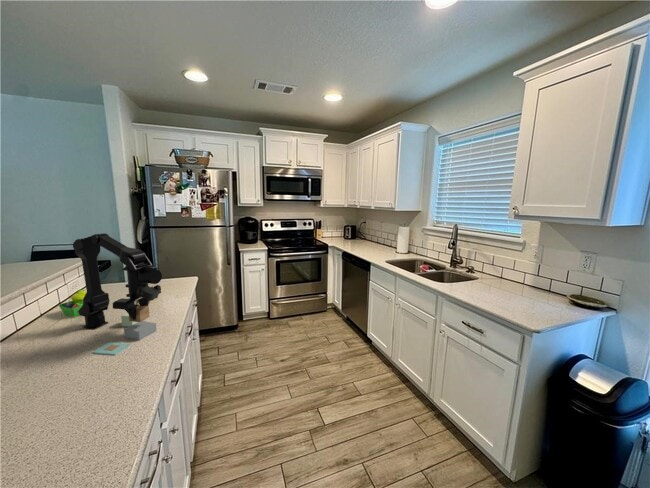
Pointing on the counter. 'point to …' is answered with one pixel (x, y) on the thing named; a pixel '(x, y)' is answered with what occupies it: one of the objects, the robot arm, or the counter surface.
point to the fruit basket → (73, 304)
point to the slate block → (140, 330)
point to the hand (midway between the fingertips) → (139, 316)
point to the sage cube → (126, 320)
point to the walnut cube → (141, 313)
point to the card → (111, 348)
